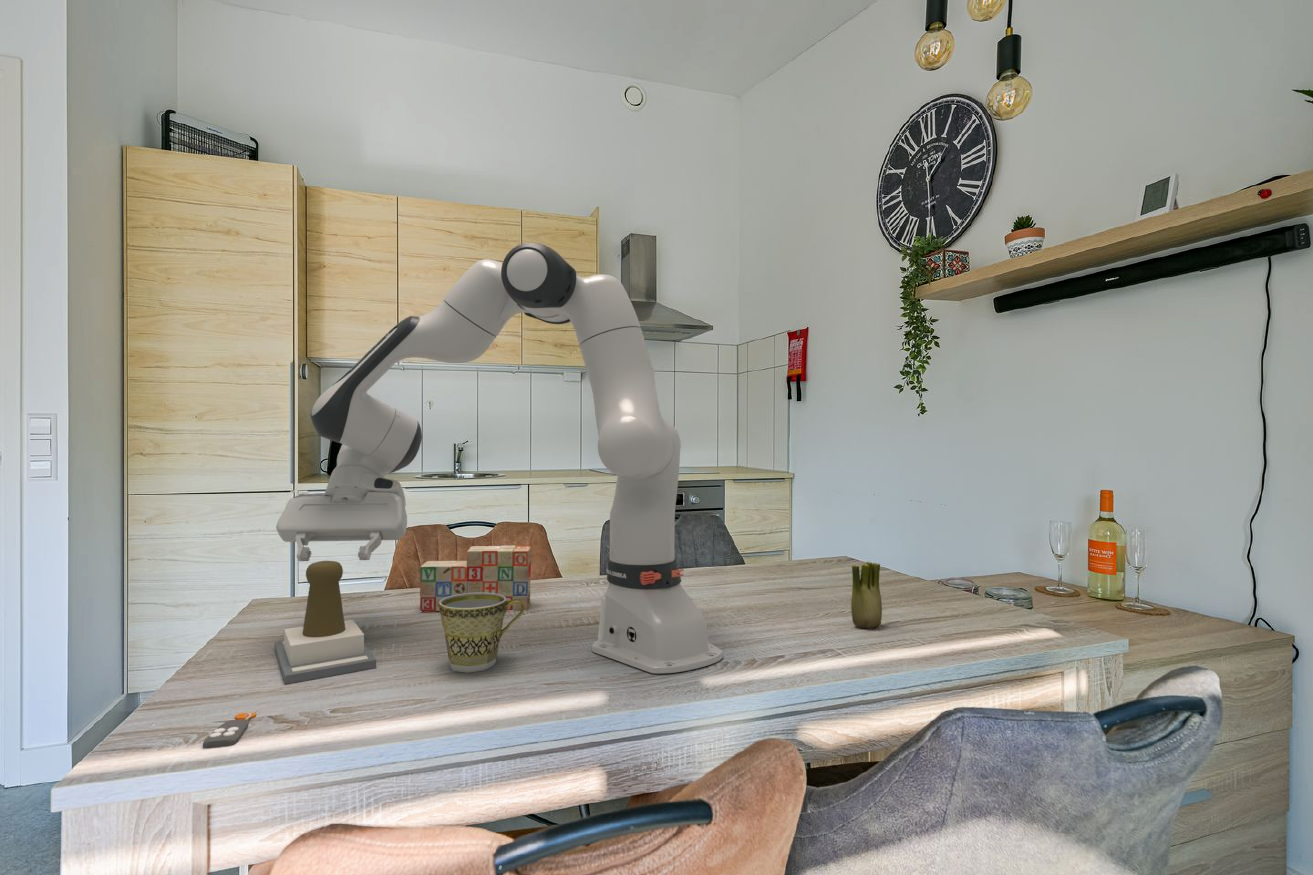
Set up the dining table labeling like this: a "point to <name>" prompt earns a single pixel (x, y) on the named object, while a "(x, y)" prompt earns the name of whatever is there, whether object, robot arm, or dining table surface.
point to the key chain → (229, 731)
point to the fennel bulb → (866, 596)
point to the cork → (324, 600)
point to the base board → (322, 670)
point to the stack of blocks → (479, 576)
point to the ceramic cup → (474, 628)
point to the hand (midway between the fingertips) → (333, 558)
